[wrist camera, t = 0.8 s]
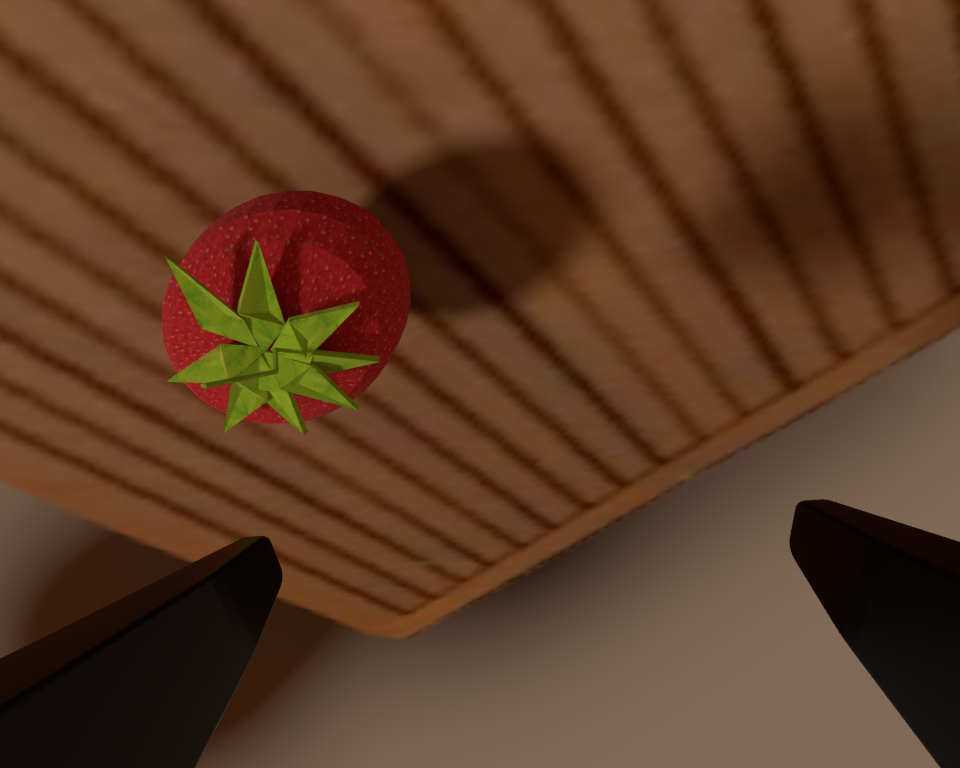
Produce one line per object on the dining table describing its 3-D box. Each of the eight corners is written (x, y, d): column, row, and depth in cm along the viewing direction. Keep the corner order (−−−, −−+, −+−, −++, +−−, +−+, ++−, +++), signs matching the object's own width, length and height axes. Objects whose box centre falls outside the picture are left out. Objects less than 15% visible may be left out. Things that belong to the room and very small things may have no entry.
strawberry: (203, 266, 18) (-3, 441, 9) (326, 109, 15) (191, 162, 7) (331, 360, 20) (257, 559, 12) (453, 240, 18) (466, 390, 10)
